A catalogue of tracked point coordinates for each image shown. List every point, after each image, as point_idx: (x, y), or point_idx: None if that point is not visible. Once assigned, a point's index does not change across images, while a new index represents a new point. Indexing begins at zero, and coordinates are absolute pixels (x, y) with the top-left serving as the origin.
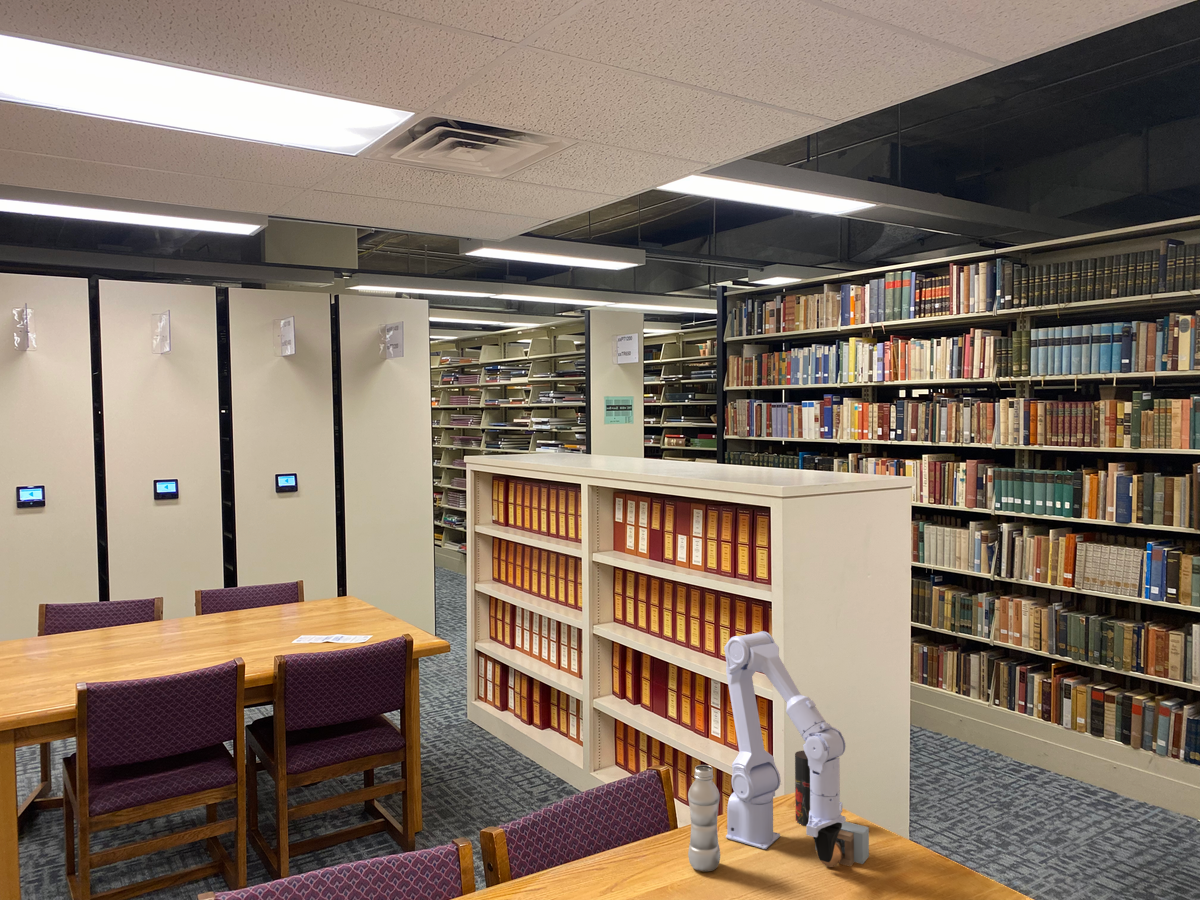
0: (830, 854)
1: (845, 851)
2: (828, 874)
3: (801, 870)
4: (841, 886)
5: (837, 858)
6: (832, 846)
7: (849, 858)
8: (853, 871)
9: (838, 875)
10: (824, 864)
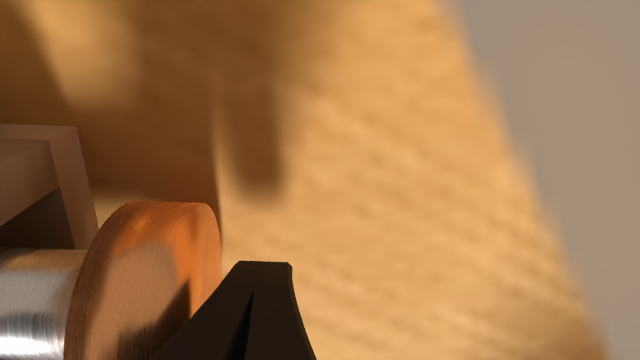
0: (295, 300)
1: (13, 209)
2: (293, 216)
3: (336, 345)
4: (415, 94)
5: (193, 228)
6: (256, 353)
7: (41, 153)
8: (134, 84)
9: (266, 159)
10: (219, 274)
